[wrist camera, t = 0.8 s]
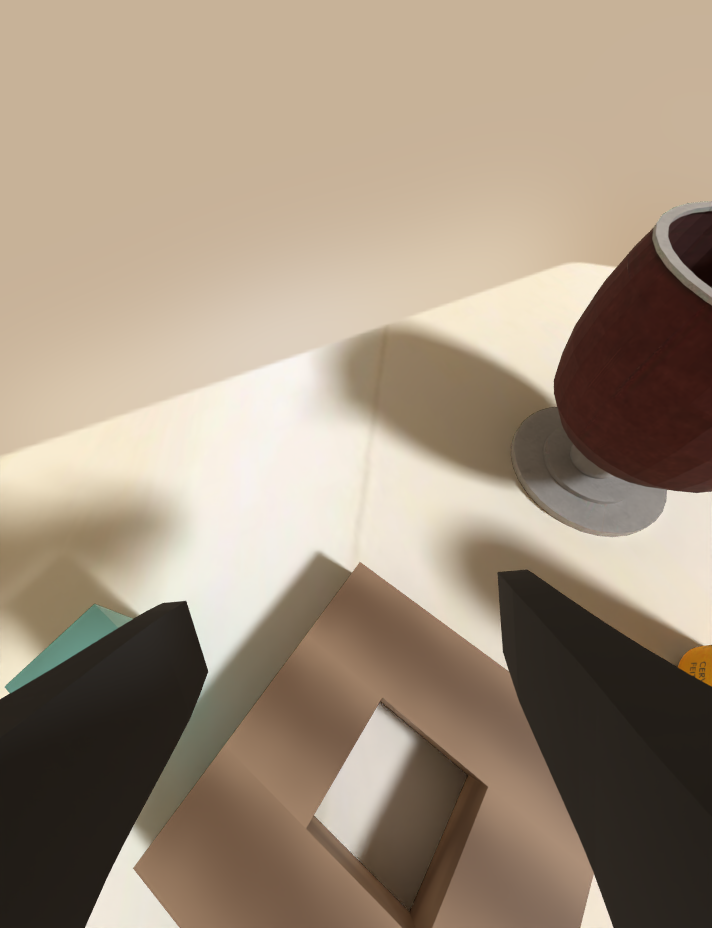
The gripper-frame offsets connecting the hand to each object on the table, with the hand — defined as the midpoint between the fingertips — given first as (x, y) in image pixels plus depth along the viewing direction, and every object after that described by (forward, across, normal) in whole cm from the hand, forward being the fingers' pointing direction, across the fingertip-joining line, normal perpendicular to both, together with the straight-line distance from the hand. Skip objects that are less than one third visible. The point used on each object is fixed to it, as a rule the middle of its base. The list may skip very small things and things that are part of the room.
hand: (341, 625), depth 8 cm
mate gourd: (+24, -16, +6) cm, 30 cm away
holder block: (+7, +1, +16) cm, 17 cm away
